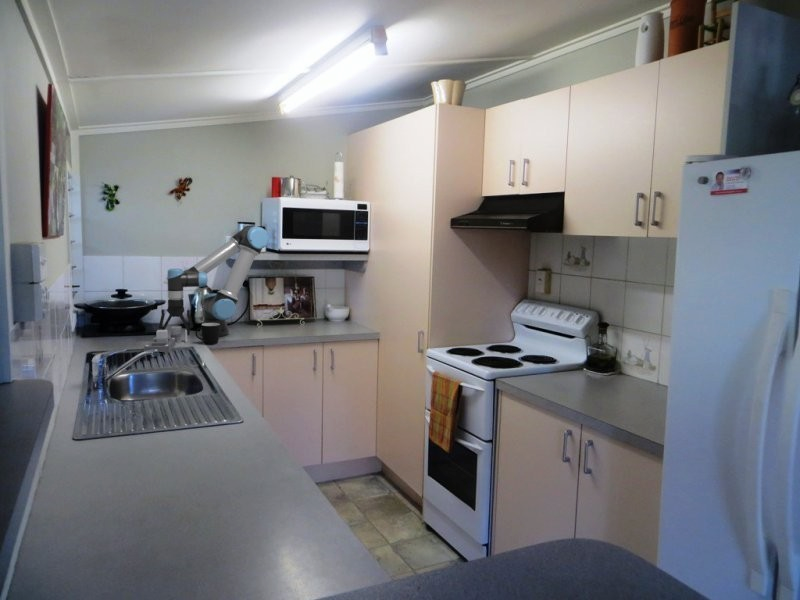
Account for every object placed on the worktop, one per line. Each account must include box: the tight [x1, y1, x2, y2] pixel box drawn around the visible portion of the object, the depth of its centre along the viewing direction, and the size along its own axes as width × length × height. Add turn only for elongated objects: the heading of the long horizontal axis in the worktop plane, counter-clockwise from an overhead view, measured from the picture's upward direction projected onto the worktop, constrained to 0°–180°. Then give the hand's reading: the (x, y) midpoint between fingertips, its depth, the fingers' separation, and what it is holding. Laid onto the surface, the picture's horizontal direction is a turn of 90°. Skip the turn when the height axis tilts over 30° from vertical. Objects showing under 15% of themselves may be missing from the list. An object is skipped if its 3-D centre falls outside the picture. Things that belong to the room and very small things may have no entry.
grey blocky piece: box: [143, 329, 177, 354], centre depth 290 cm, size 11×20×8 cm, turn 12°
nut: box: [170, 325, 183, 344], centre depth 306 cm, size 5×5×8 cm
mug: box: [195, 323, 220, 346], centre depth 304 cm, size 12×9×10 cm
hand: (176, 341), depth 307 cm, fingers open, 9 cm apart
